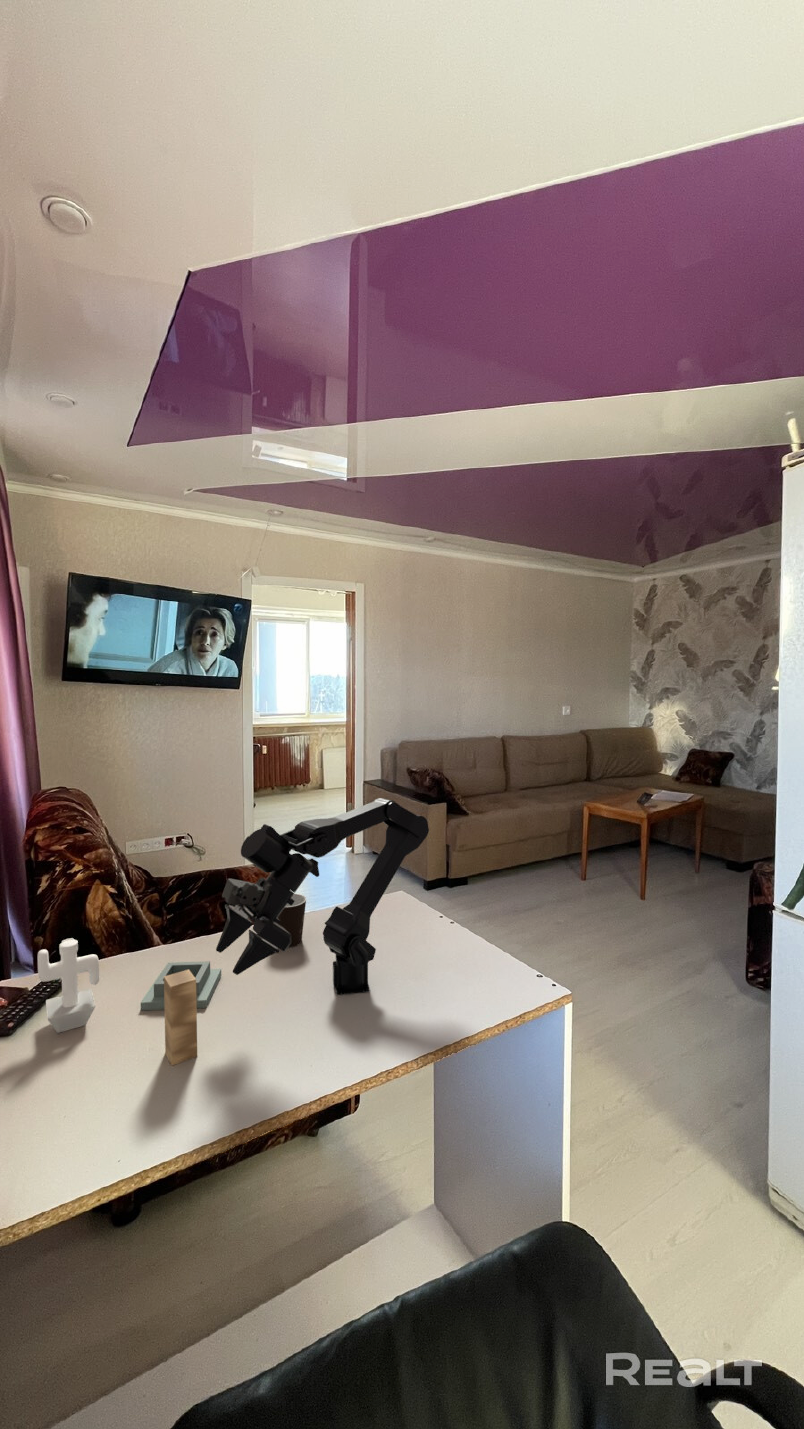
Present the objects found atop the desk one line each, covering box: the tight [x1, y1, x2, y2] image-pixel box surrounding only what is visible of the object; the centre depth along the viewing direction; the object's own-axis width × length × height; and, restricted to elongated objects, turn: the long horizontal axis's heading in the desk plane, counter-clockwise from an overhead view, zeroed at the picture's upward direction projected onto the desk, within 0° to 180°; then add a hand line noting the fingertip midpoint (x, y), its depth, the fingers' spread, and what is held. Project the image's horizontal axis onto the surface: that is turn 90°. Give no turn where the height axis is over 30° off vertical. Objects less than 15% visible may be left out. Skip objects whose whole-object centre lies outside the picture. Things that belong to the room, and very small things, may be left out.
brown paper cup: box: [278, 892, 307, 948], centre depth 137 cm, size 12×9×10 cm
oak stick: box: [164, 969, 198, 1066], centre depth 94 cm, size 4×4×13 cm
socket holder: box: [140, 960, 222, 1011], centre depth 113 cm, size 12×12×4 cm
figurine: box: [37, 937, 100, 1034], centre depth 103 cm, size 7×9×15 cm
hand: (226, 962), depth 99 cm, fingers open, 9 cm apart
